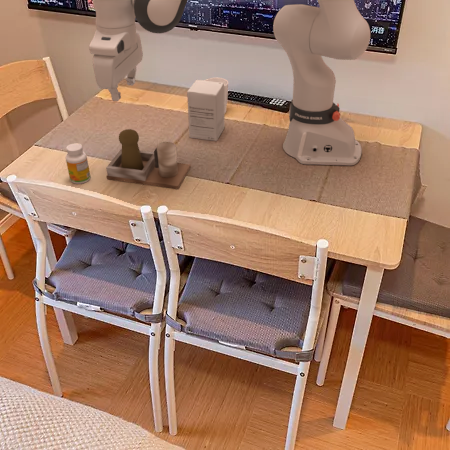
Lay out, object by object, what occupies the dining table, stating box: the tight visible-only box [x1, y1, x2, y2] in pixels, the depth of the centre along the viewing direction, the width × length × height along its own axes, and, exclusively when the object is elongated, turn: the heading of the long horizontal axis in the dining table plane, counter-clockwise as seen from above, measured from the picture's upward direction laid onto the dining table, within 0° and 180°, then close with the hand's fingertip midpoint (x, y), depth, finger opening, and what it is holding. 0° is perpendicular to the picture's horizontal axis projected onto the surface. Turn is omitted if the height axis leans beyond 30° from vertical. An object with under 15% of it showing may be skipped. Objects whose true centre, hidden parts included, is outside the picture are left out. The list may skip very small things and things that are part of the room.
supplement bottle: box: [65, 142, 91, 185], centre depth 138 cm, size 5×5×10 cm
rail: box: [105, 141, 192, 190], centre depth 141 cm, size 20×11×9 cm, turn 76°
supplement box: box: [186, 79, 225, 142], centre depth 157 cm, size 9×9×15 cm
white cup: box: [204, 77, 229, 115], centre depth 170 cm, size 8×8×10 cm
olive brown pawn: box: [118, 128, 144, 170], centre depth 140 cm, size 6×6×11 cm
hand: (124, 91), depth 130 cm, fingers open, 8 cm apart
